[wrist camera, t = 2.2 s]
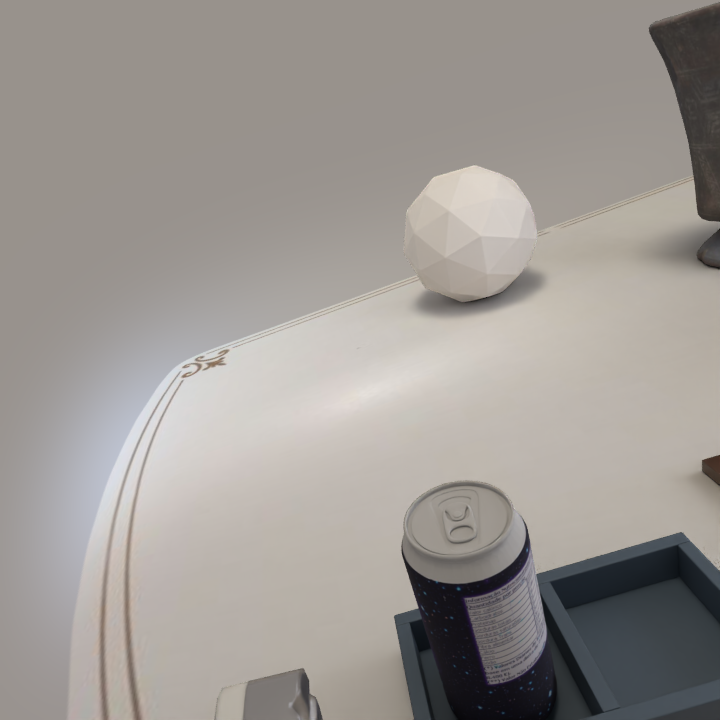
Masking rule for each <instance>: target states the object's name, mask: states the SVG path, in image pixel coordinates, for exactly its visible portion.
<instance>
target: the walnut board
mask: <svg viewBox="0 0 720 720" xmlns="http://www.w3.org/2000/svg"><path fill="white" fill-rule="evenodd" d="M702 471H703V472H704V473H705V474H707V475H708V476H709V477H710V478H712V479H713V480H714V481H715V482H716V483H718V484H719V485H720V455H718V456H714V457H711V458H708V459H704V460H702Z"/></svg>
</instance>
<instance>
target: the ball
mask: <svg viewBox="0 0 720 720" xmlns="http://www.w3.org/2000/svg"><path fill="white" fill-rule="evenodd" d="M536 242H537V230H536V219H535V216H534V213H533V211H532V208H531V206H530V204H529V202H528V200H527V198H526V197H525V196H524V194H523V193H522V191H521V190H520V188H519V187H518V185H517V184H516V182H515V181H514V180H512V179H510V178H507V177H506V176H504V175H502V174H500V173H497V172H494V171H491V170H488V169H485V168H482V167H479V166H476V165H474V166H470V167H467V168H463V169H460V170H456V171H453V172H449V173H446V174H442V175H439V176H436V177H433V178H432V180H431V181H430V182H429V183H428V185H427V186H426V187H425V188H424V190H423V191H422V192H421V193H420V195H419V196H418V197H417V198H416V200H415V201H414V202H413V204H412V205H411V206H410V207H409V209H408V210H407V211H406V225H405V240H404V255H405V256H406V258H407V260H408V261H409V263H410V264H411V266H412V267H413V269H414V271H415V272H416V274H417V276H418V277H419V279H420V280H421V282H422V284H423V285H424V287H425V288H427V289H429V290H432V291H434V292H437V293H439V294H442V295H445V296H447V297H450V298H452V299H455V300H458V301H460V302H467V301H472V300H476V299H481V298H485V297H489V296H492V295H495V294H498V293H501V292H503V291H504V290H505V289H506V288H507V287H508V286H509V285H510V284H511V283H512V282H513V281H514V280H515V279H516V278H517V277H518V276H519V275H520V274H521V272H522V271H523V270H524V268H525V267H526V265H527V264H528V263H529V261H530V260H531V257H532V254H533V251H534V248H535V245H536Z"/></svg>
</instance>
